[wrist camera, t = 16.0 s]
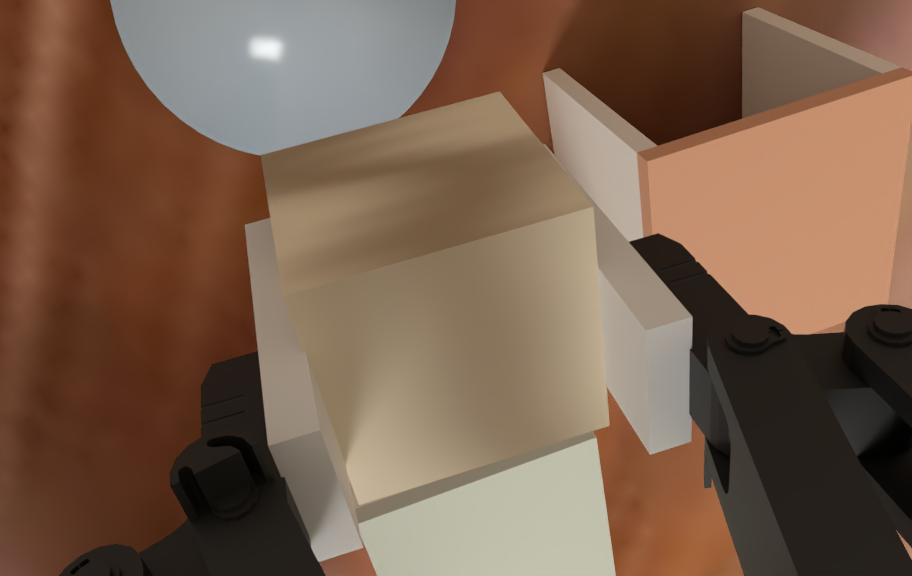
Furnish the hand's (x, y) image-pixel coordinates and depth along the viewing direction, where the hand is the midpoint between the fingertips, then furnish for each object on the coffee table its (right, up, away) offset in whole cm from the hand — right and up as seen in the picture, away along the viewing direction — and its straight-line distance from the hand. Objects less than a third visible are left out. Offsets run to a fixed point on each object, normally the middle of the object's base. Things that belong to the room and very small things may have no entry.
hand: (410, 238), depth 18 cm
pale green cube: (0, -7, +22) cm, 23 cm away
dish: (-5, +9, +10) cm, 14 cm away
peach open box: (+10, +5, +17) cm, 20 cm away
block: (0, 0, 0) cm, 0 cm away
